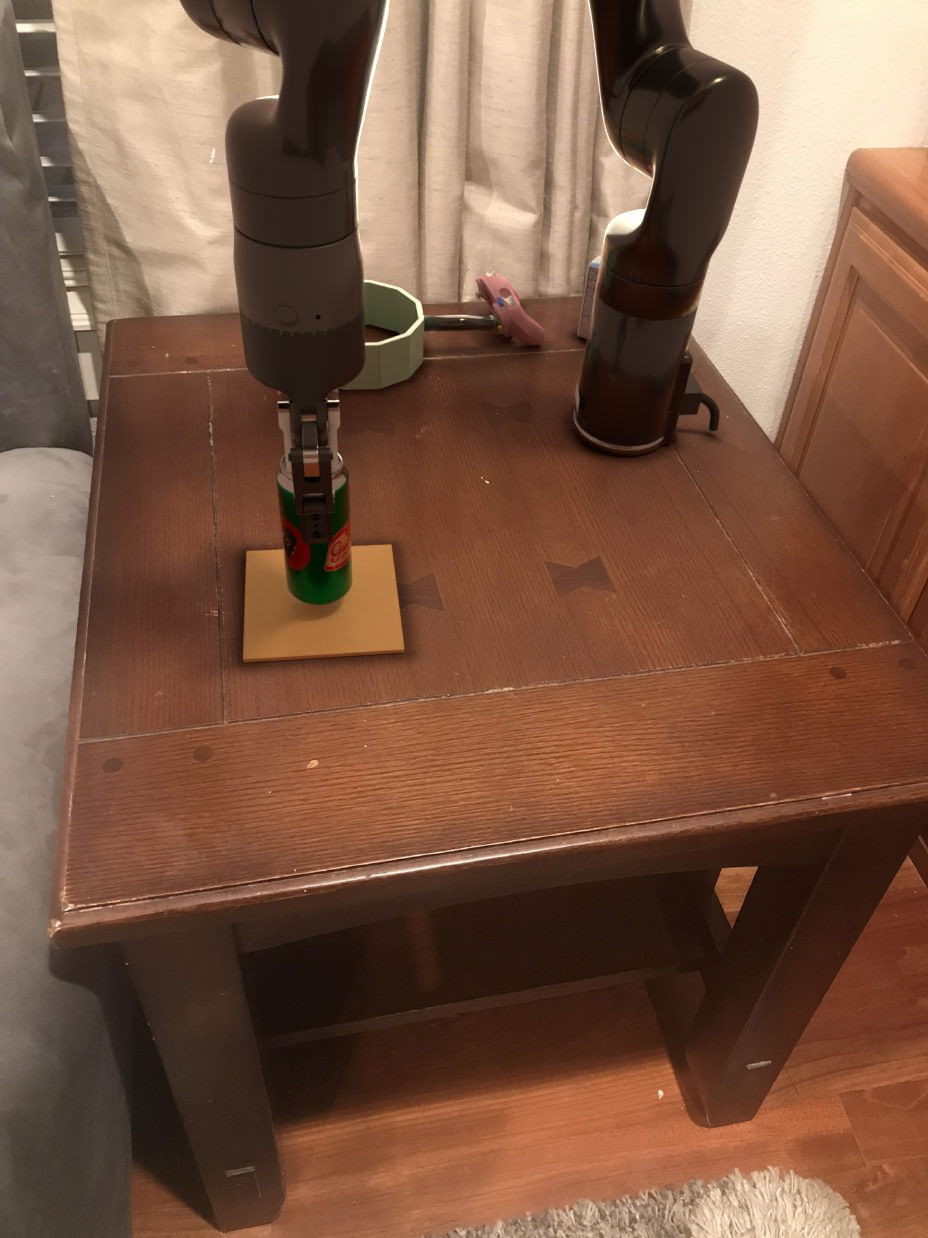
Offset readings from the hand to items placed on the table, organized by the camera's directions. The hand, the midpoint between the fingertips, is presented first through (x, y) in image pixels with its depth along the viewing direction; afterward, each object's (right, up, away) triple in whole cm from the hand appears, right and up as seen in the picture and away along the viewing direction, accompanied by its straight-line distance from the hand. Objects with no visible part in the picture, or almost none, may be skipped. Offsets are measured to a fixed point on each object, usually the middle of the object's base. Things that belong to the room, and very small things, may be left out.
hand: (316, 513), depth 69 cm
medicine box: (+28, +23, +38) cm, 52 cm away
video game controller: (+16, +25, +38) cm, 48 cm away
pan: (+3, +21, +33) cm, 39 cm away
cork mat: (-1, -6, +6) cm, 9 cm away
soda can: (-1, -5, +5) cm, 8 cm away
